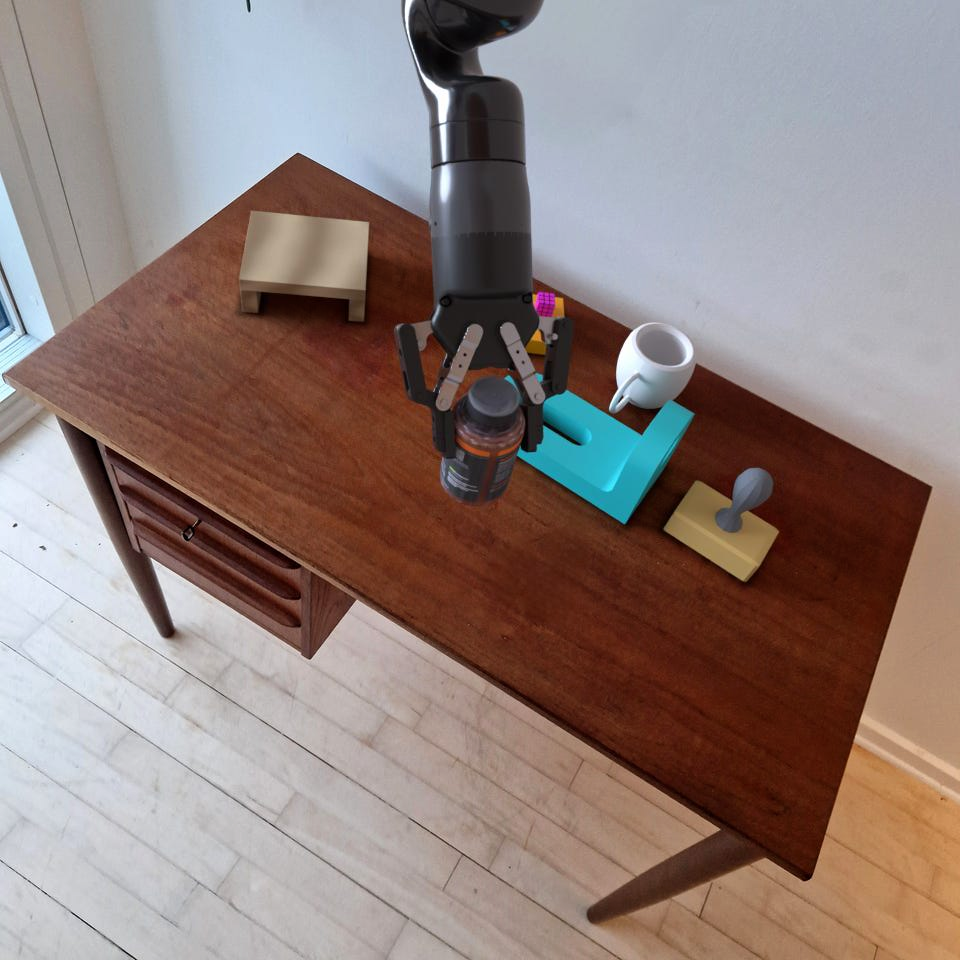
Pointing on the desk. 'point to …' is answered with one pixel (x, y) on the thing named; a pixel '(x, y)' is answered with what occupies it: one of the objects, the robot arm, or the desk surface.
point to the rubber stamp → (727, 523)
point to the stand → (305, 259)
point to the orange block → (547, 308)
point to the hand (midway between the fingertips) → (489, 453)
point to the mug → (653, 366)
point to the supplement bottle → (484, 442)
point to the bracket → (605, 451)
